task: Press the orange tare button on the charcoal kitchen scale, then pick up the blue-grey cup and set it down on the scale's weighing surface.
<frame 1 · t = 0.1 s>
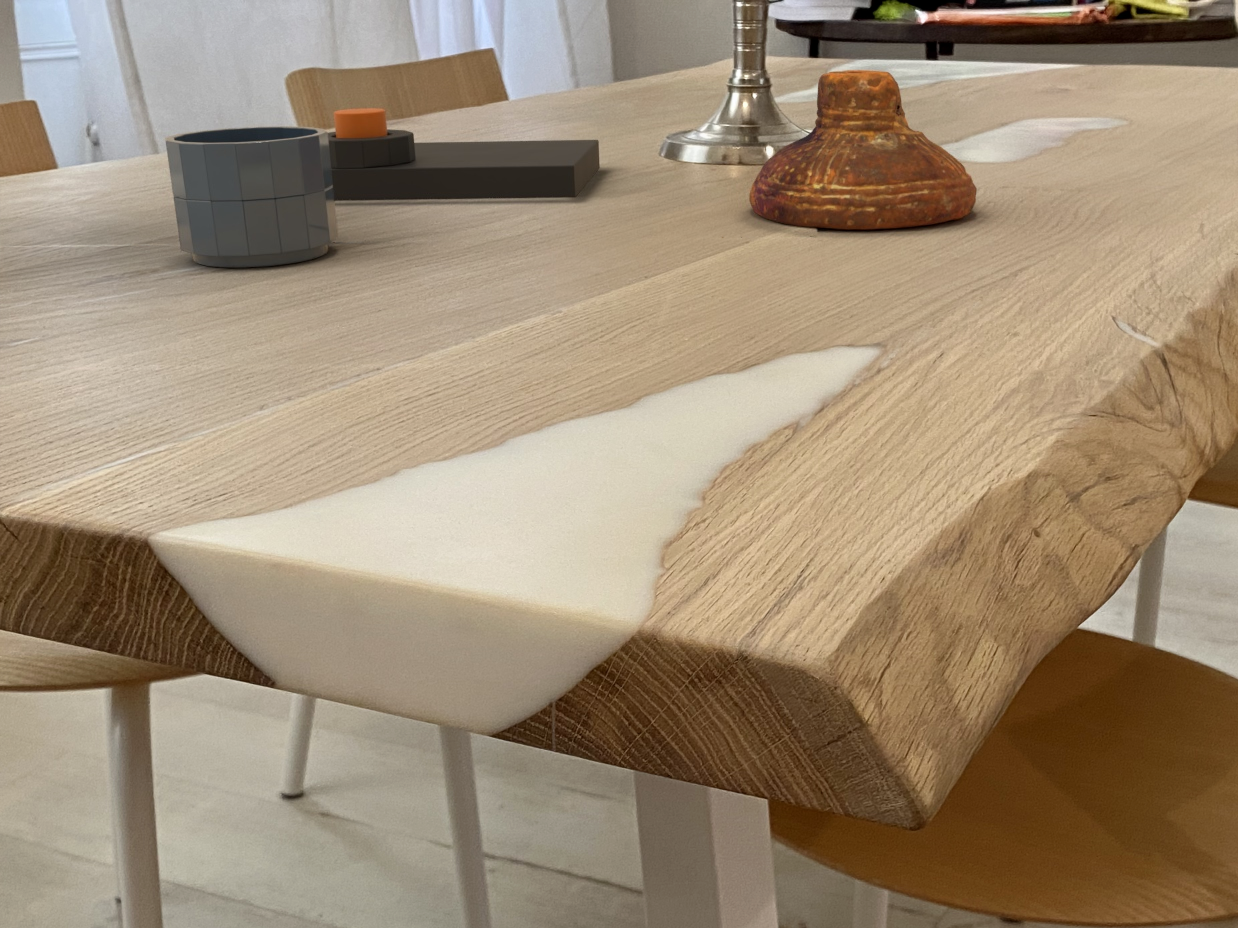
scale: (460, 184, 90), on the table
tare button: (360, 125, 86), point 4 cm above the table, slide at 0.1 cm
blue-grey cup: (261, 255, 69), on the table
bell: (860, 217, 76), on the table
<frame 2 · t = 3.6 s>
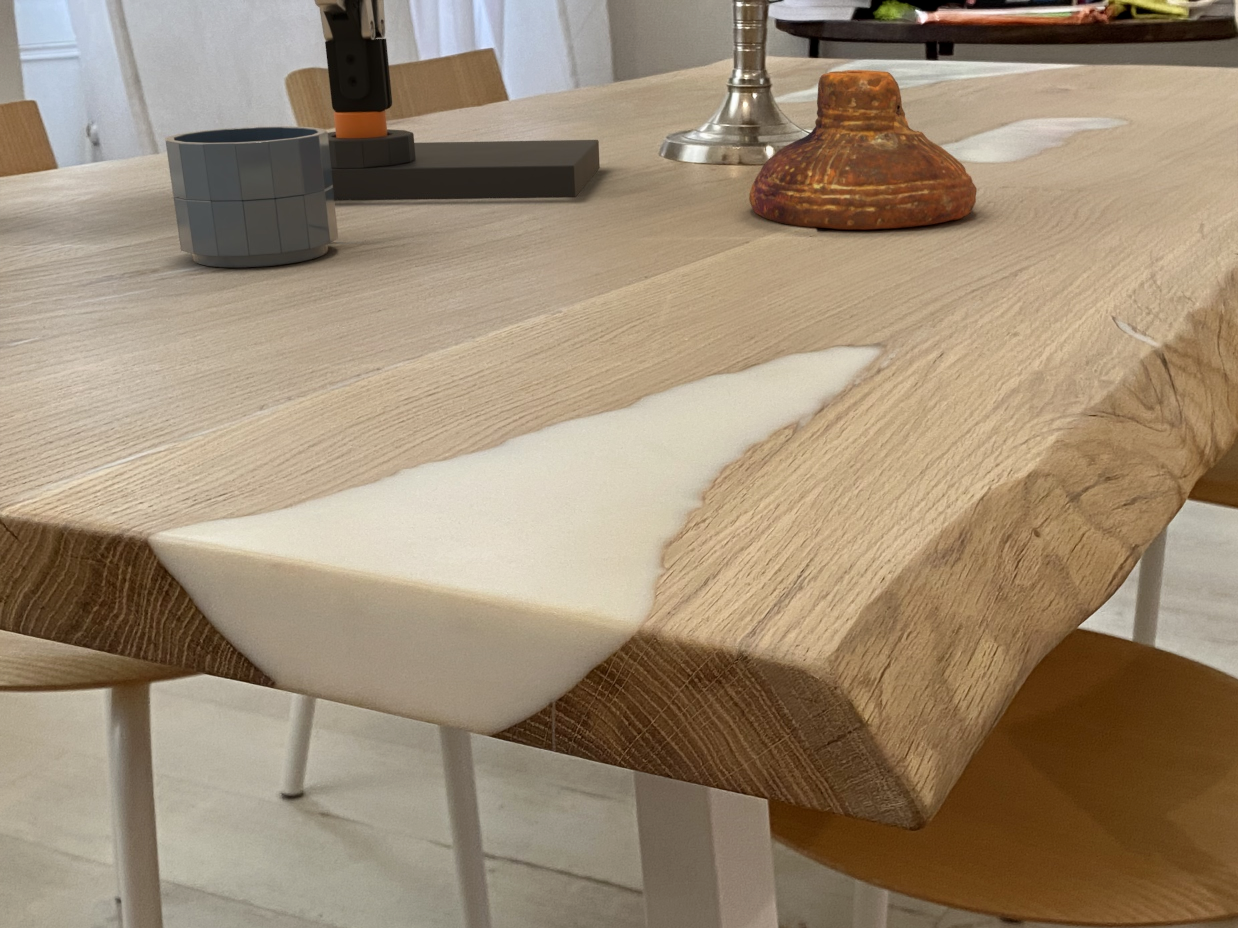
hand: (362, 110, 85), 5 cm above the table, tool pointing down, fingers closed
tare button: (360, 126, 86), point 4 cm above the table, slide at 0.1 cm, touching gripper
everything else where it was.
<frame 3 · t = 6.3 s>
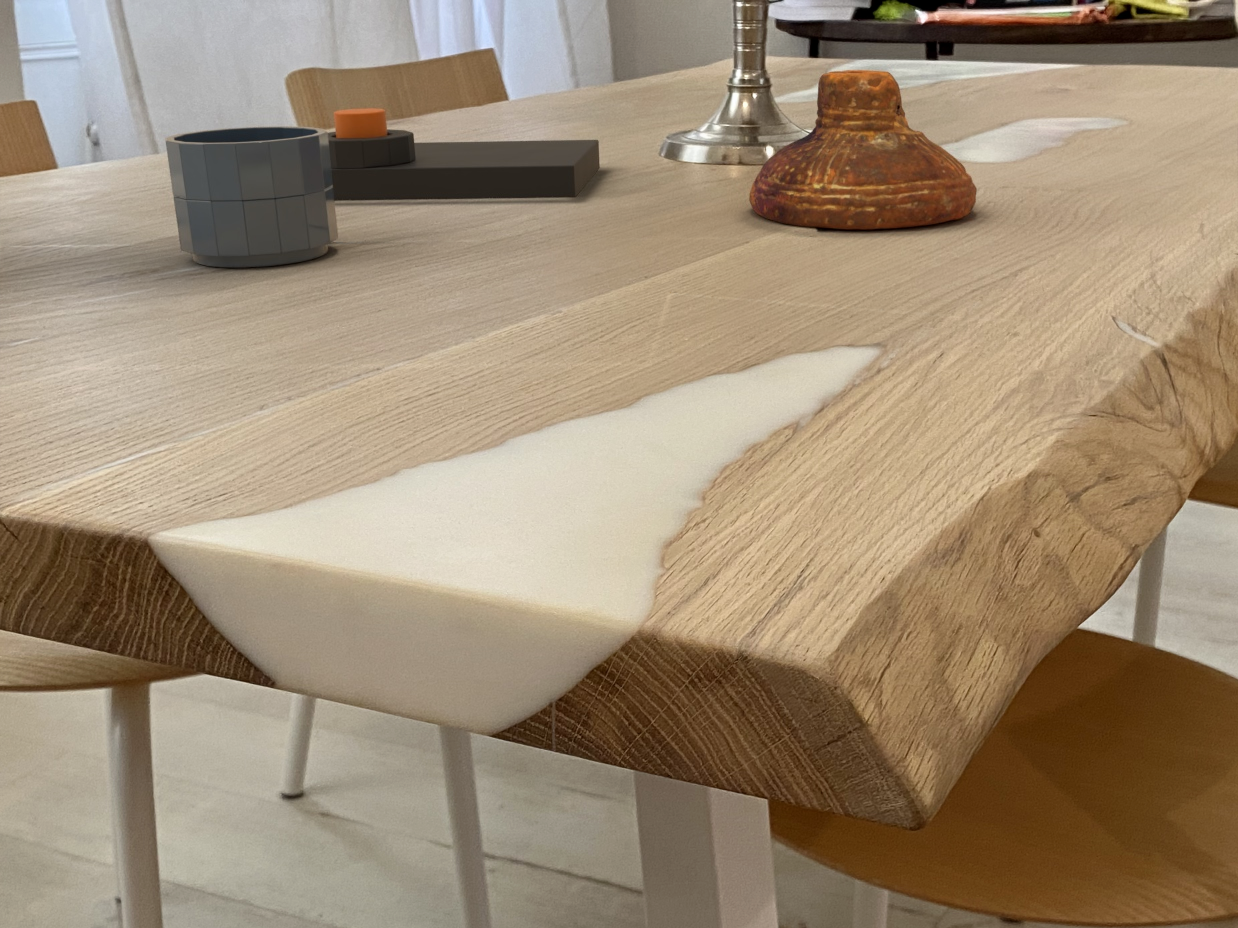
tare button: (360, 126, 86), point 4 cm above the table, slide at 0.1 cm
everything else where it was.
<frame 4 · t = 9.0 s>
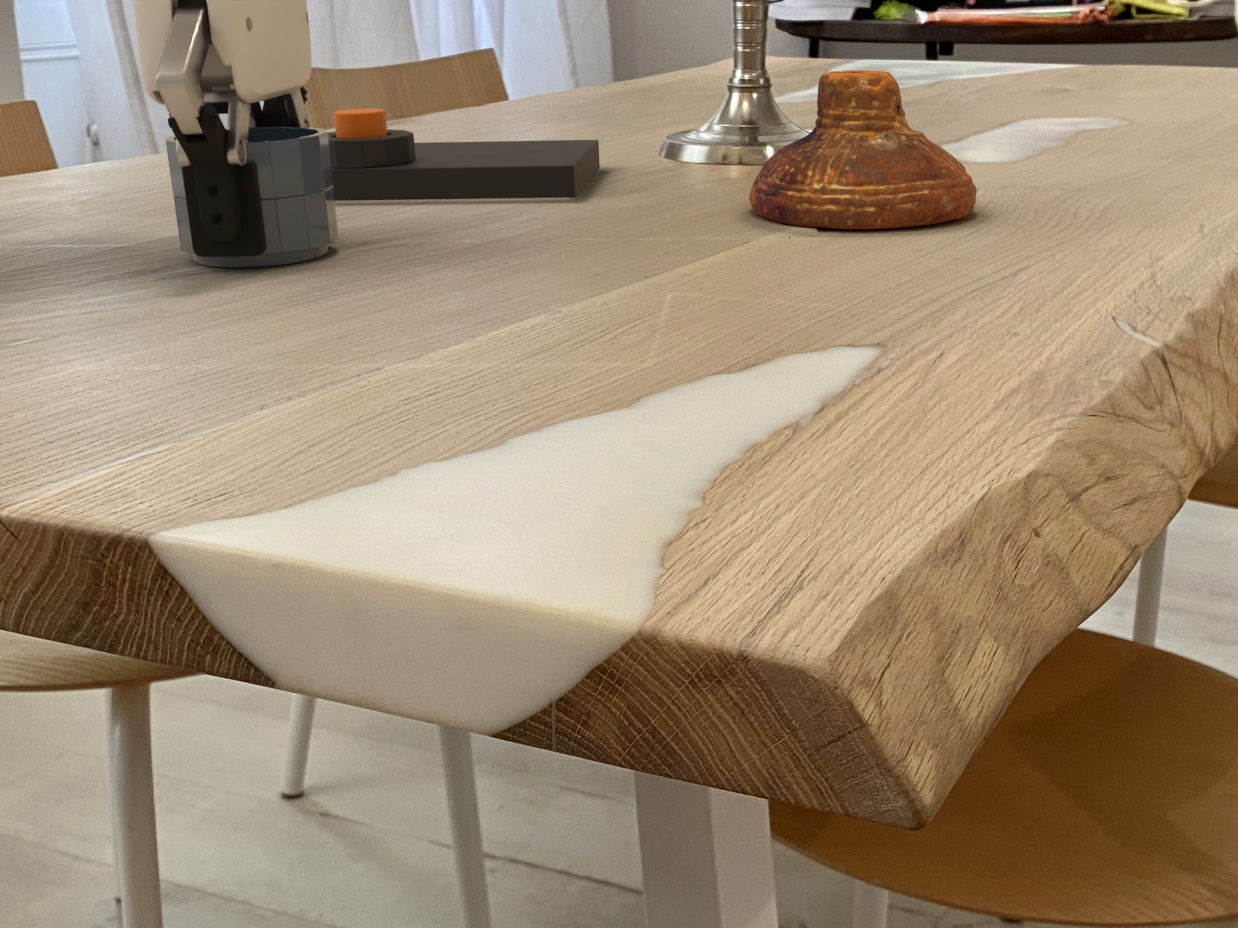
hand: (260, 236, 69), 1 cm above the table, tool pointing down, fingers closed on blue-grey cup, 7 cm apart
blue-grey cup: (261, 255, 69), on the table, touching gripper
everything else where it was.
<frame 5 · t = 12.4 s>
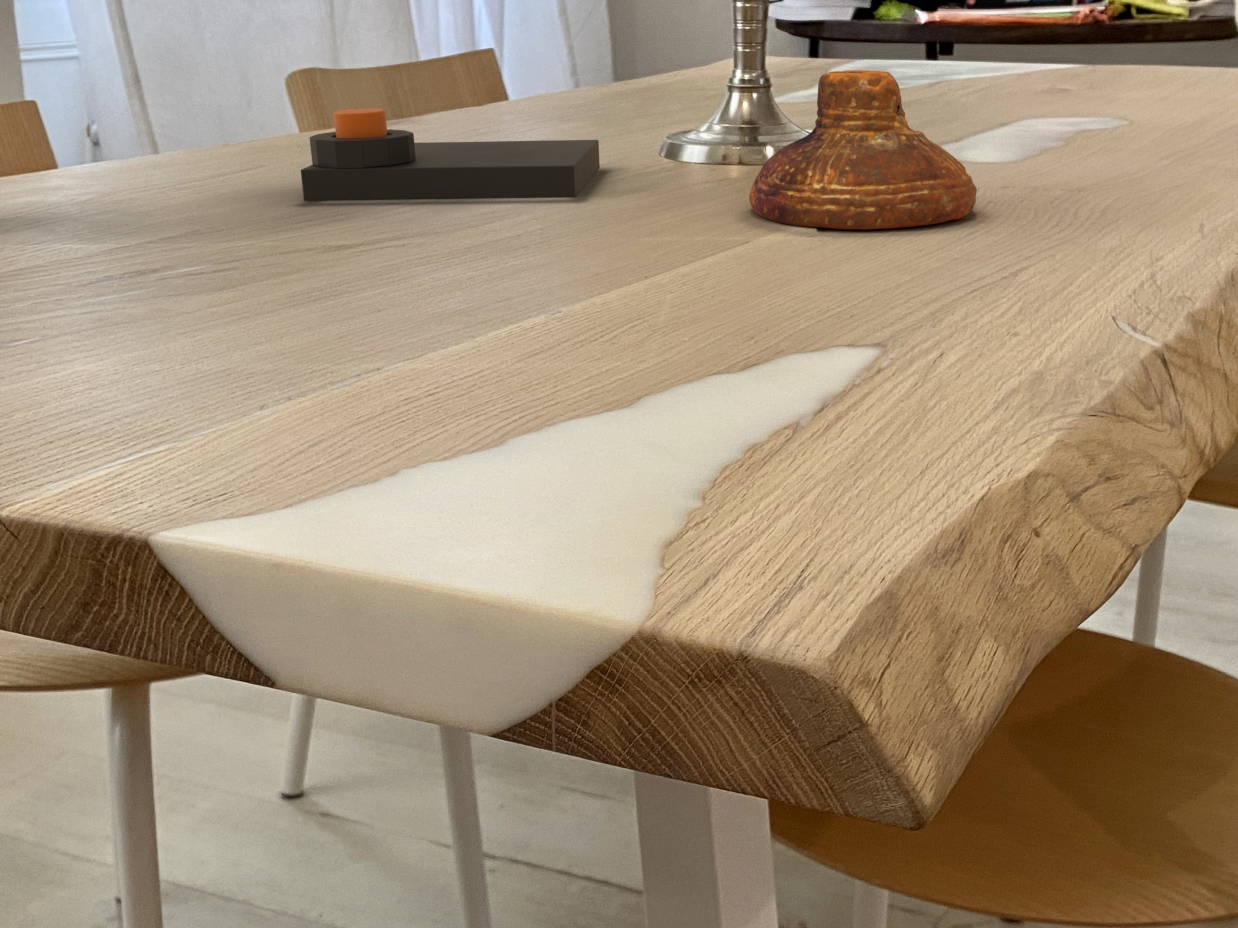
when the fingers open (3 cm above the table, at t = 16.2 s): blue-grey cup stays where it is, resting on scale.
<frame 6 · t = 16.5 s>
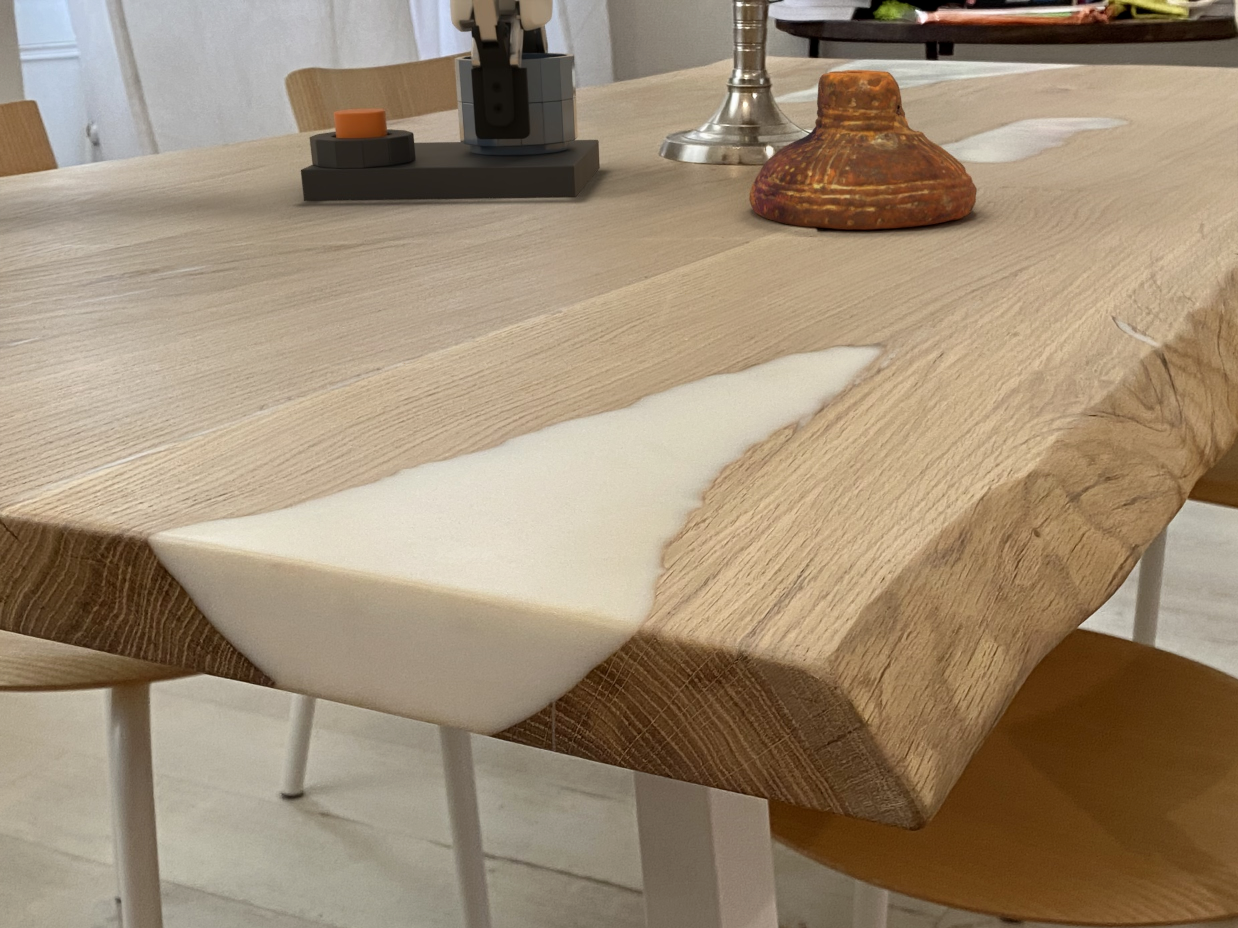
hand: (516, 129, 90), 3 cm above the table, tool pointing down, fingers open, 9 cm apart
blue-grey cup: (519, 149, 91), point 2 cm above the table, touching scale
everything else where it was.
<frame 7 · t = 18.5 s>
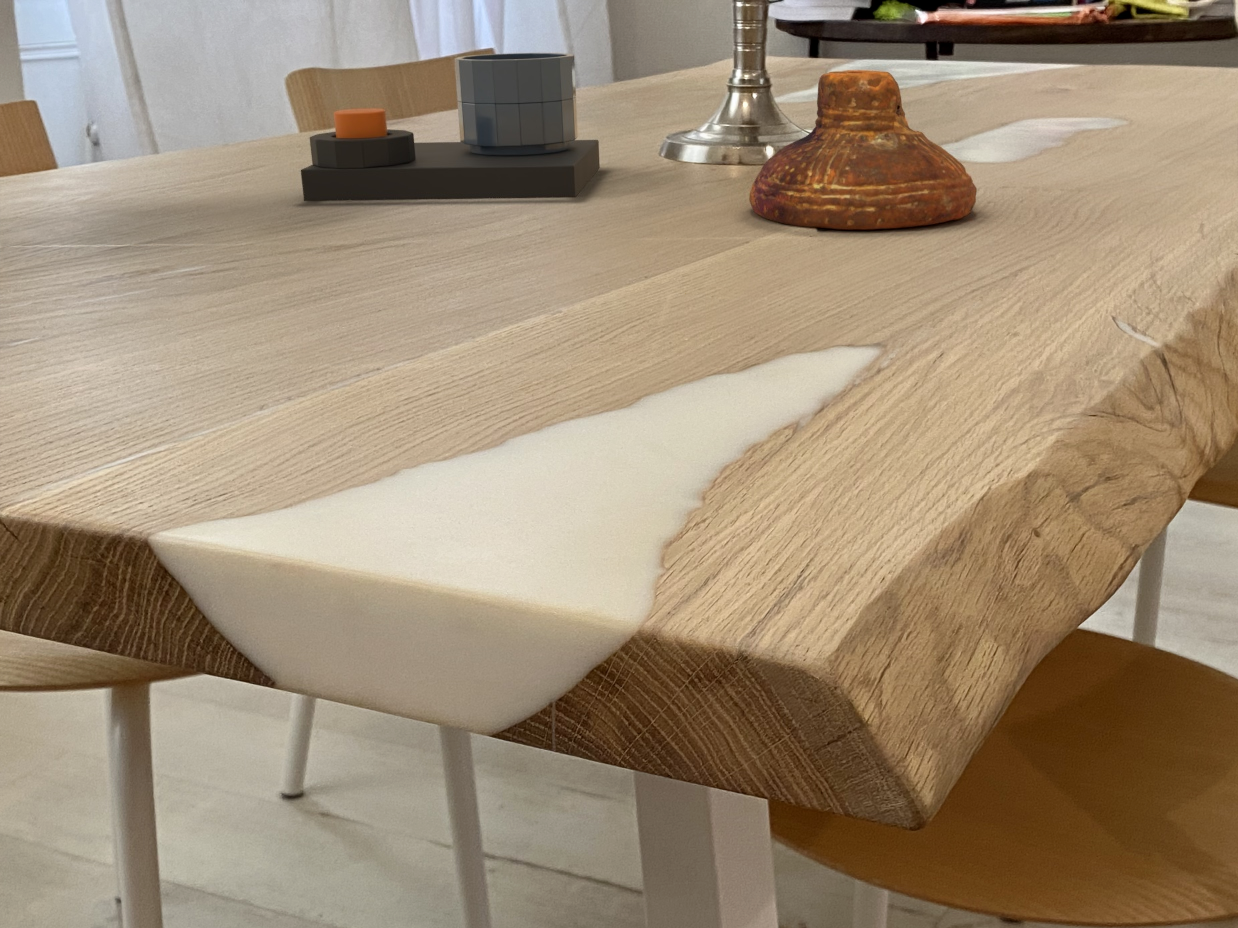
nothing on the table moved.
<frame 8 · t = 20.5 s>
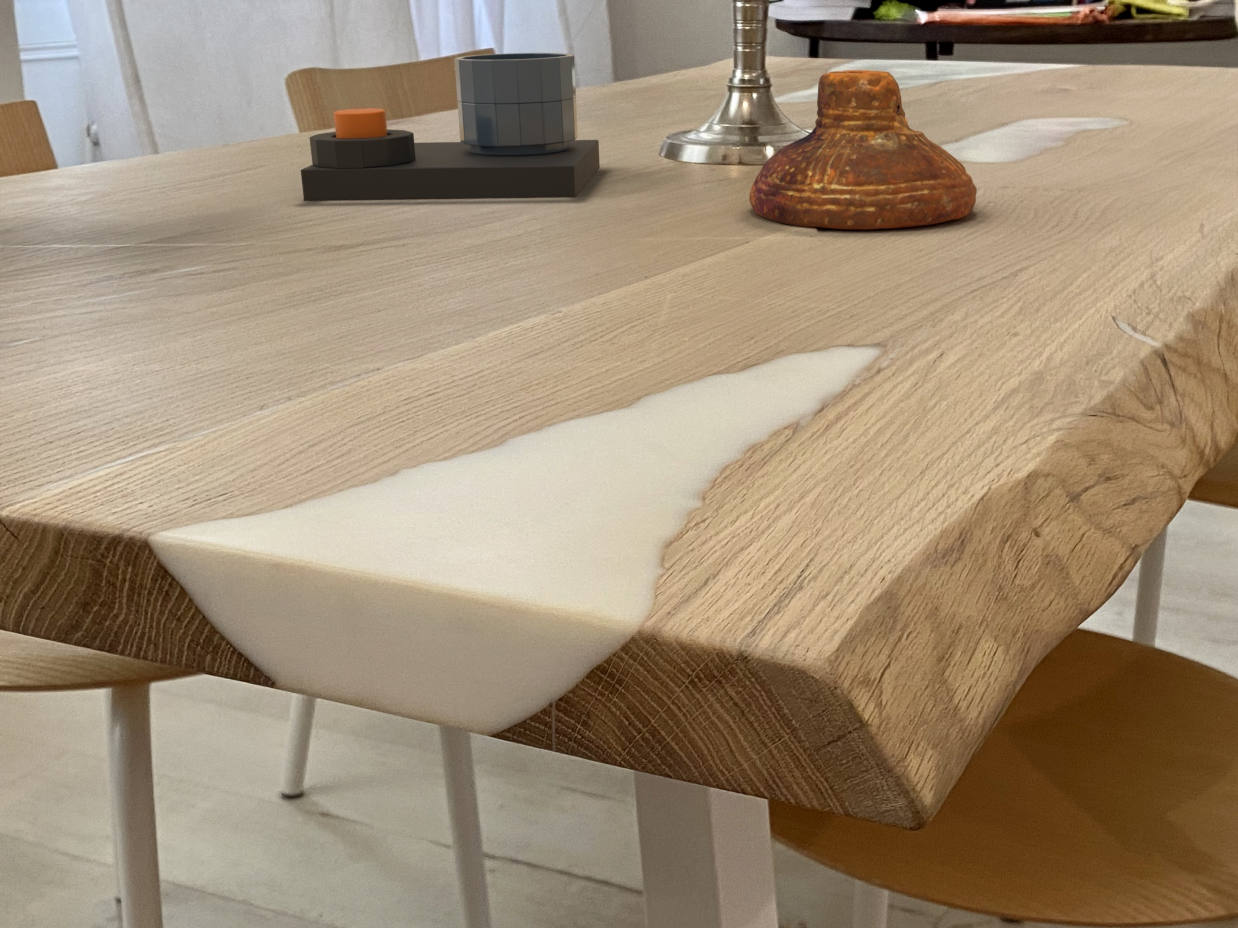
nothing on the table moved.
at the end: tare button pushed in 0.9 cm at the most during the clip, back to where it started at the end; blue-grey cup inside the target area on the scale (2.0 cm from its centre), point 1.9 cm above the scale's base; blue-grey cup touching scale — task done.
